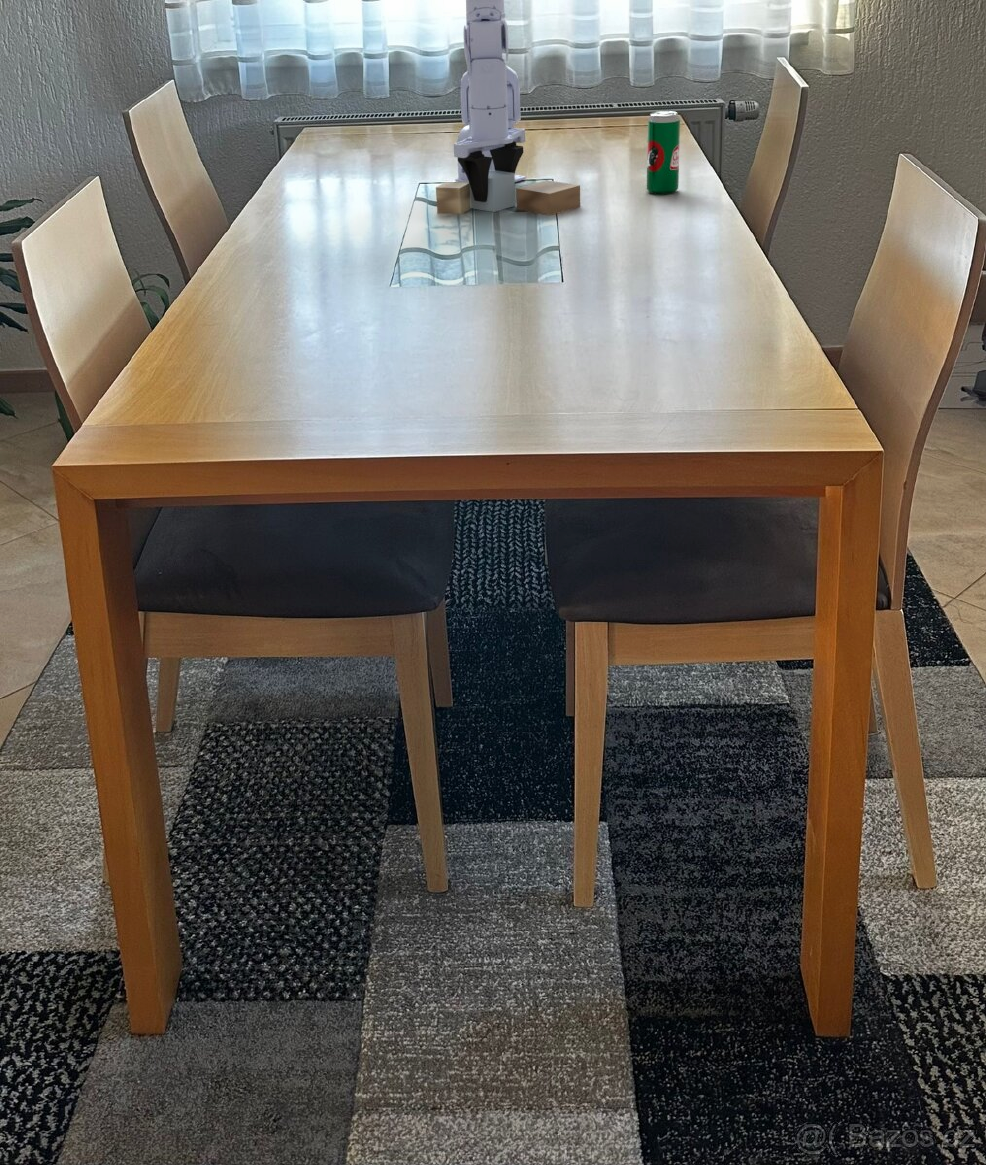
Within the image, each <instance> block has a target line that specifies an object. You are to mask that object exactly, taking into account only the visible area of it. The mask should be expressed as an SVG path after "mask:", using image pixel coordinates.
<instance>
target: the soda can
mask: <svg viewBox="0 0 986 1165" xmlns="http://www.w3.org/2000/svg"><path fill="white" fill-rule="evenodd" d="M678 115H679V113H678V112H676V111H667V110H665V111H663V110H662V111H661V110H660V111H654V112H651V113H650V114H649V116H650V117H649V118H648V119H647V136H646V138H647V141H646V144H647V146H646V155H647V156H646V190H647V191H648V193H650V194H653V195H660V196H661V195H663V196H664V195H671V194H674V193H676V192H677V191H678V190H679V183H680V181H679V179H680V178H679V177H680V145H681V144H680V141H681V140H680V138H681V119H680V118H679V116H678Z"/></svg>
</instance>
